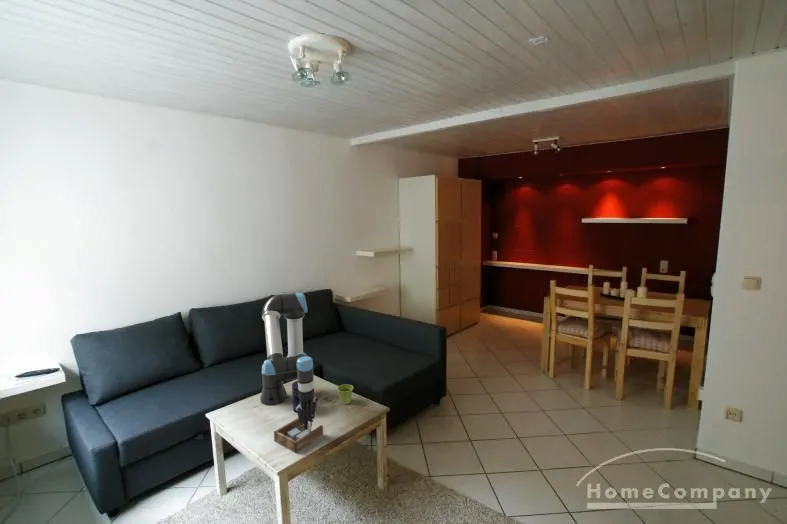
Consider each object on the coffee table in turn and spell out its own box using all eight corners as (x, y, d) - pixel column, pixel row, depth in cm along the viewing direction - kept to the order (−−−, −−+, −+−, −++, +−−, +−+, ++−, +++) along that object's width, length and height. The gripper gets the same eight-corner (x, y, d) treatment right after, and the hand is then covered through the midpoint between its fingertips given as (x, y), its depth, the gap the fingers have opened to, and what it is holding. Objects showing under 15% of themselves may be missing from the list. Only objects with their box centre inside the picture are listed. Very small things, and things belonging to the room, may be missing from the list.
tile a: (287, 437, 184) (286, 431, 184) (296, 433, 188) (295, 427, 187) (292, 441, 181) (292, 436, 180) (301, 437, 184) (301, 431, 184)
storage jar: (302, 415, 204) (301, 389, 203) (289, 410, 209) (287, 385, 207) (314, 406, 213) (313, 382, 211) (301, 403, 218) (300, 378, 216)
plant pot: (355, 398, 223) (354, 384, 221) (351, 406, 213) (351, 391, 212) (339, 397, 223) (339, 384, 222) (335, 405, 214) (335, 391, 213)
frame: (274, 441, 181) (273, 431, 181) (301, 425, 195) (301, 416, 194) (295, 453, 172) (295, 442, 171) (323, 435, 185) (322, 425, 185)
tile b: (296, 441, 181) (295, 436, 180) (304, 436, 185) (304, 431, 184) (303, 445, 178) (302, 439, 177) (311, 440, 182) (310, 434, 181)
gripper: (300, 396, 174) (302, 443, 176) (321, 385, 184) (323, 430, 187) (290, 392, 178) (292, 438, 181) (311, 382, 188) (313, 425, 191)
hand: (308, 434), depth 184 cm, fingers closed
